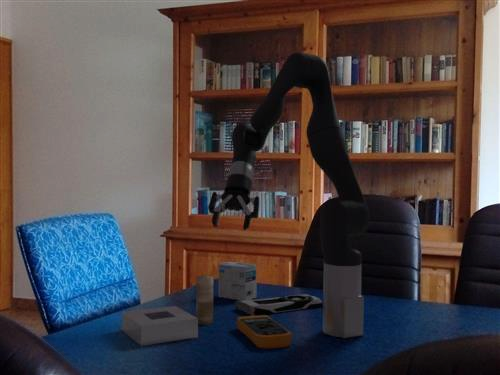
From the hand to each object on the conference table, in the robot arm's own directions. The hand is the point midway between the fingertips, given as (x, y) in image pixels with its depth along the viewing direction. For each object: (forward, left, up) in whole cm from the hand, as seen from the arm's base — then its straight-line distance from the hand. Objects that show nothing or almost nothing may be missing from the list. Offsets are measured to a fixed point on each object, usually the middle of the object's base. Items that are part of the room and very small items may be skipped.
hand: (229, 227), depth 154 cm
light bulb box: (+16, -11, -24) cm, 31 cm away
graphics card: (-3, -16, -25) cm, 30 cm away
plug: (-6, +11, -24) cm, 27 cm away
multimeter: (-24, +4, -25) cm, 35 cm away
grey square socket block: (-10, +25, -24) cm, 36 cm away
